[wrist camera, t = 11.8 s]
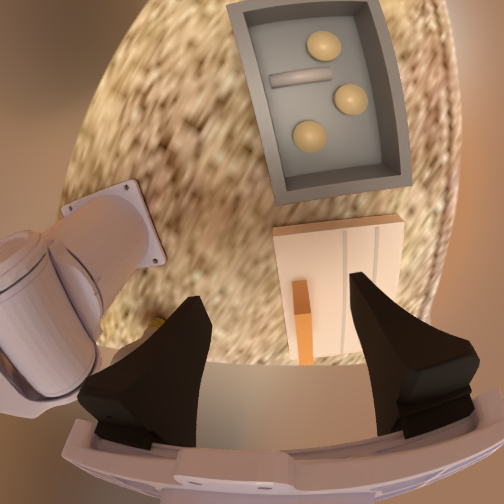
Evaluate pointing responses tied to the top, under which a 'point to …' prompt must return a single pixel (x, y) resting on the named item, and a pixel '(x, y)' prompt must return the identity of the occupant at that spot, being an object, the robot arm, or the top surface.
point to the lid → (332, 278)
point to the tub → (324, 96)
